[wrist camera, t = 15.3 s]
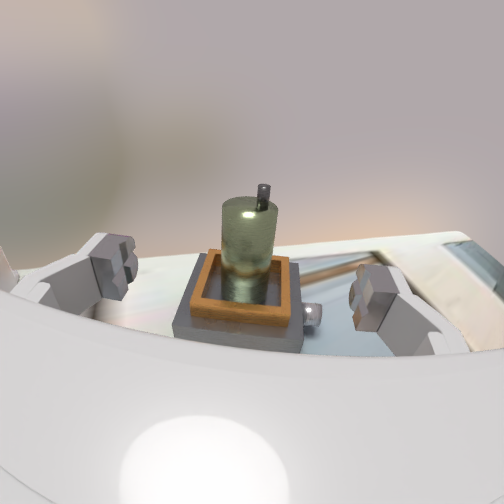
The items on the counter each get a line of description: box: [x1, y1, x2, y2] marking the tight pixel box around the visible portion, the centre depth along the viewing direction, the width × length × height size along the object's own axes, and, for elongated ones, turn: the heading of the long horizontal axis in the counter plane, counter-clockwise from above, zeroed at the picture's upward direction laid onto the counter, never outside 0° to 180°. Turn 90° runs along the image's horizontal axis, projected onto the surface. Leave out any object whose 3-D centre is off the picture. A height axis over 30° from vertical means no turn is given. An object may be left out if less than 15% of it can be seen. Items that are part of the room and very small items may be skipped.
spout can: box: [221, 184, 278, 304], centre depth 31 cm, size 6×6×13 cm
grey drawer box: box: [172, 249, 322, 354], centre depth 36 cm, size 17×14×8 cm
